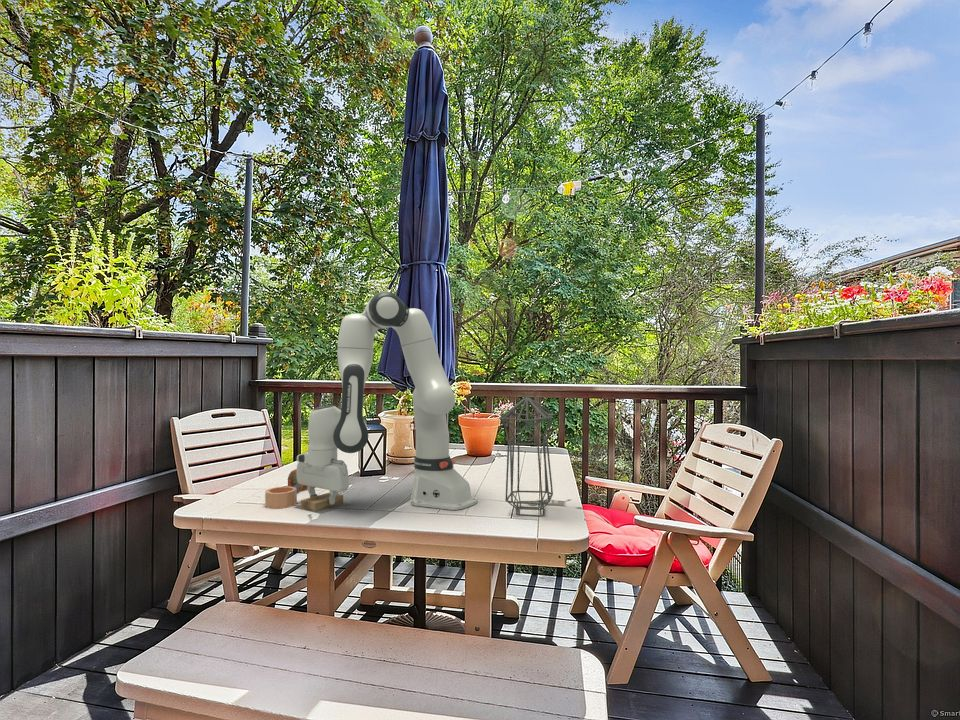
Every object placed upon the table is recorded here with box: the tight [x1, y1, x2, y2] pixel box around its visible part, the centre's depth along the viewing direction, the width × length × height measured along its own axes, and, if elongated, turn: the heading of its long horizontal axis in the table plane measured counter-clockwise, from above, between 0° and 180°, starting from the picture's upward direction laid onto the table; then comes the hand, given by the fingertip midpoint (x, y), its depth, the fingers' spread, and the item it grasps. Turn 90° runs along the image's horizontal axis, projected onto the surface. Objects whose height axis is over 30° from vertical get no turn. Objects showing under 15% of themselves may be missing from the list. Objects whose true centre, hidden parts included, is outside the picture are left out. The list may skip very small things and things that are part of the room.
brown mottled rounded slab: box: [287, 468, 308, 495], centre depth 175 cm, size 15×3×8 cm, turn 168°
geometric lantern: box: [499, 397, 555, 517], centre depth 151 cm, size 16×16×35 cm
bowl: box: [264, 486, 298, 510], centre depth 156 cm, size 9×9×5 cm
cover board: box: [300, 492, 344, 513], centre depth 155 cm, size 6×11×2 cm, turn 148°
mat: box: [293, 502, 351, 515], centre depth 155 cm, size 12×12×1 cm
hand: (322, 502), depth 154 cm, fingers closed on cover board, 6 cm apart
